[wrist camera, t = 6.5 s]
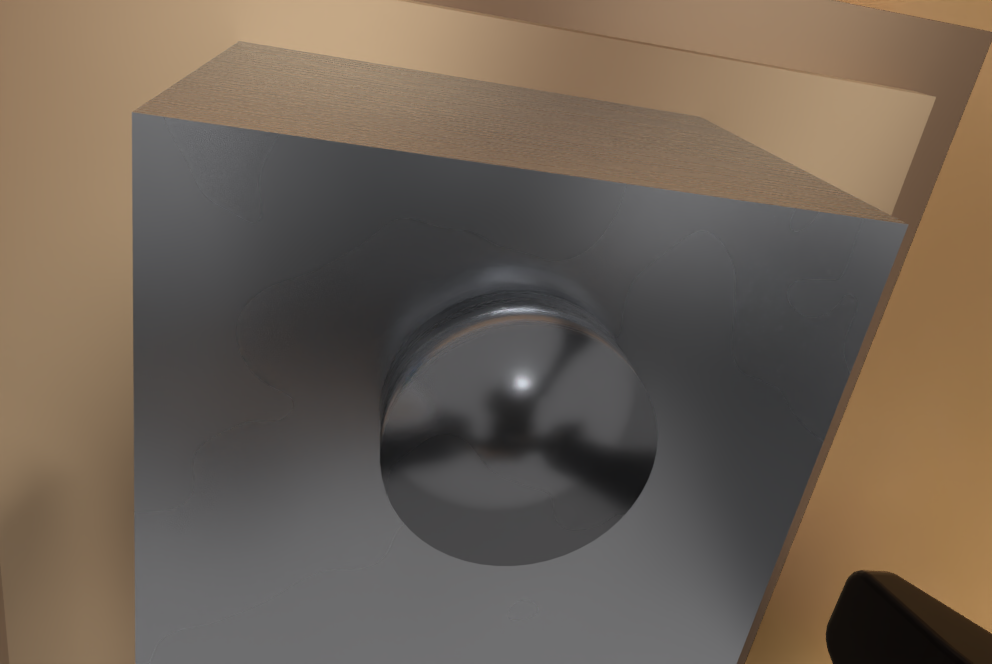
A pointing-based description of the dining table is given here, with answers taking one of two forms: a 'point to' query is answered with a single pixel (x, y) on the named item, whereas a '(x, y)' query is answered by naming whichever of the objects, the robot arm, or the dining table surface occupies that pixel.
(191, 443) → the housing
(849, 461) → the dining table surface
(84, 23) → the tray
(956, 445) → the dining table surface
